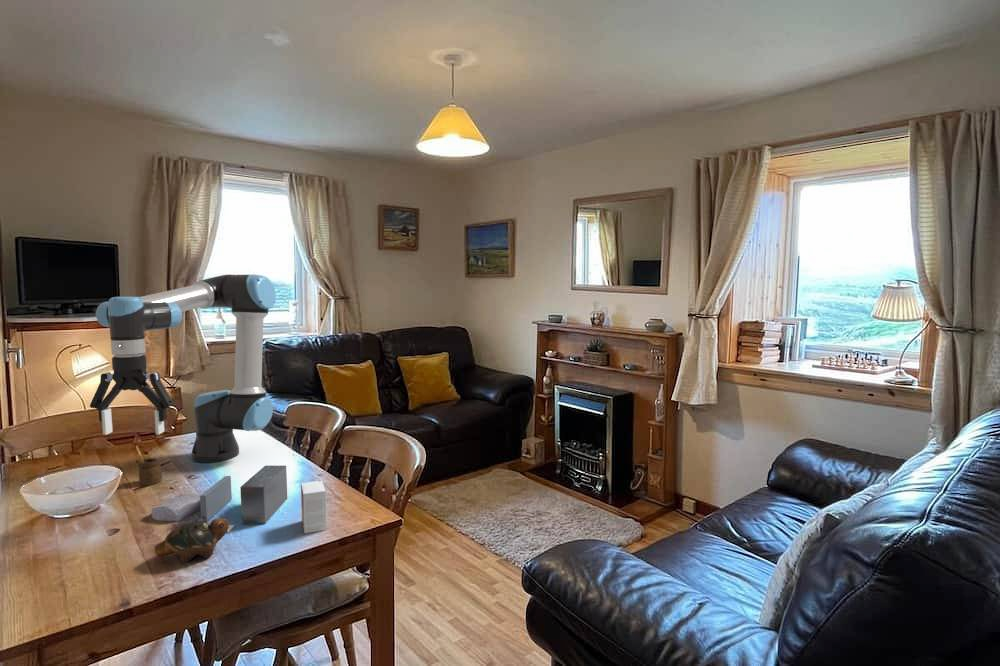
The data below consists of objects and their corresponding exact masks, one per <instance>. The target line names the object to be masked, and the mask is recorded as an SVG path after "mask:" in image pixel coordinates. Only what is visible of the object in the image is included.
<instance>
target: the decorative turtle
mask: <svg viewBox="0 0 1000 666" xmlns="http://www.w3.org/2000/svg"><path fill="white" fill-rule="evenodd" d="M229 523H230V522H229V521H228V520H227V519H226V518H224V517H217V518H215V519H212V521H210V522H207V521H199V520H197V521H189V522H186V523H184V524H182V525H180V526H177V527H175V528H174V529H172V530H171V531H170V532H169V533H168V534H167V535H166V537H165V539H164V540H163V541H161V542H159V543H157V544H156V545H155V546H154V551H155V554H156V555H155V556H157V557H158V558H161V557H166V556H169V555H174V554H176V555H177V556H178V557H180V560H181V561H182V562H183V563H188V562H190V561H191V560H192V559H193V558H194V557H196V556H197V555H200V556H202V558H204V559H210V558H211V557H212V556H213V553H214V550H215V548H216V546H217V544H218V542H219V541H221V540H222V538H223V537H224V536H225V535H226V533H228V532H227V530H228V528H229V525H230V524H229Z"/></svg>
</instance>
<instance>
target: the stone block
mask: <svg viewBox="0 0 1000 666" xmlns="http://www.w3.org/2000/svg"><path fill="white" fill-rule="evenodd" d="M201 494H202V493H197V492H188V493H182V494H178V495H175V496H174V497H172V498H170V499H169V498H168V499H167V500H166V501H165V502H164V503H161V504H160V505H157V506H154V507H152V508H151V514H150V515H151V518H152V519H153V520H155V521H167V522H179V521H182V520H184V519H186V518H187V517H189V516H192V515H193V514H195V513H197V512H198V511H201V508H200V495H201Z"/></svg>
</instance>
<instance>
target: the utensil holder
mask: <svg viewBox="0 0 1000 666" xmlns="http://www.w3.org/2000/svg"><path fill="white" fill-rule="evenodd" d="M135 449H136V452H137V454H138V457H139V458H140V460H141V461H139V469H138V479H139V480H138V481H139V484H140V485H141V486H153V485H157V484H159V483H160V482H161V481H162V479H163V476H162V475H163V474H162V466H161V464H160V459H159V457H160V455H161V454H158V455H156V454H153V453H154V450H155V453H158V452H161V450H160V449H159V447H157V446H156V447H153V448H152V449H151V454H153V457H150V458H146V459H143V458H142V453H141V450H140V449H139V445H136V446H135ZM157 451H158V452H157Z"/></svg>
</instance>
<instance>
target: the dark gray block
mask: <svg viewBox="0 0 1000 666" xmlns="http://www.w3.org/2000/svg"><path fill="white" fill-rule="evenodd" d="M287 477H288V475H287V465H264V466H263V467H262V468H261V469H259V470H258V471H257V472H256V473H255V474H254V475H253V476H251V477H250V478H249V479H248V480H247V481H245V483H243V484H242V485H241V486H240V509H241V510H240V511H241V524H242V525H265V524H267V522H269V520H270V519H271V518H273V516H274V514H275V513H277V511H279V509H280V508H281V506H283V504H284V503H285V502H286V501H287V500H288V481H287V480H288V479H287Z"/></svg>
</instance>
